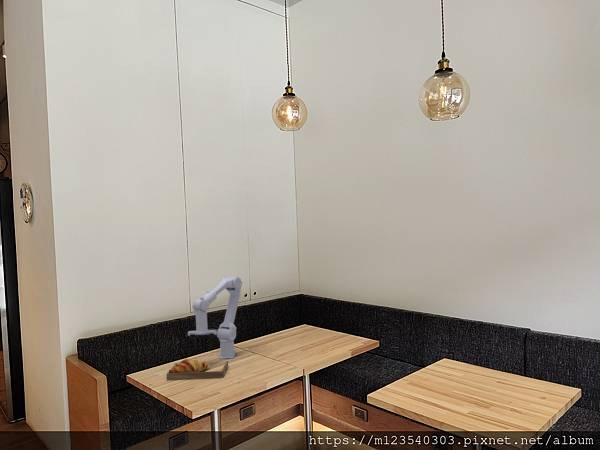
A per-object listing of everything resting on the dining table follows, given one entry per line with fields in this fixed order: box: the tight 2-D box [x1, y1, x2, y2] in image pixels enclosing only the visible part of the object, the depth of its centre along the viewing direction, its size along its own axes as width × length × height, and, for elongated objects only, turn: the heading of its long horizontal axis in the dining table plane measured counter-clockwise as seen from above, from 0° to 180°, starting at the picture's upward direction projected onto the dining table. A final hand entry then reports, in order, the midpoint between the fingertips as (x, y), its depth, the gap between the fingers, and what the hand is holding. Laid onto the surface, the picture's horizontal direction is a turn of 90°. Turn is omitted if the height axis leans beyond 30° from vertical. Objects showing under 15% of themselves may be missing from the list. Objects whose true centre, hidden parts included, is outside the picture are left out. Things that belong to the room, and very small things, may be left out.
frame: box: [166, 360, 229, 381], centre depth 219 cm, size 16×27×3 cm, turn 90°
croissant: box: [168, 358, 211, 373], centre depth 220 cm, size 21×10×8 cm
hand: (203, 348), depth 231 cm, fingers open, 7 cm apart
